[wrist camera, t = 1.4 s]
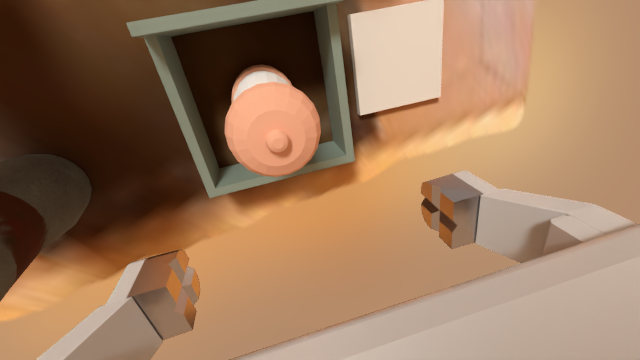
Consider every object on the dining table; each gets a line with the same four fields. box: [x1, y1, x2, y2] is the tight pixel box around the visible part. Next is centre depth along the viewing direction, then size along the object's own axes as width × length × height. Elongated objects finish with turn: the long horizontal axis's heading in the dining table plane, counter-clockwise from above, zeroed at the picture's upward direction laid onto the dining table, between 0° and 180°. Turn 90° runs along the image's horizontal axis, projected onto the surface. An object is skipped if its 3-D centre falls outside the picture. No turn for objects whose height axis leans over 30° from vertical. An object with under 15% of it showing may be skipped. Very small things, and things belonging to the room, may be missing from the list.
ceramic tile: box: [348, 0, 444, 115], centre depth 37 cm, size 12×12×1 cm
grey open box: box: [126, 0, 355, 198], centre depth 31 cm, size 18×18×9 cm
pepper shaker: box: [225, 64, 321, 177], centre depth 27 cm, size 7×7×19 cm
